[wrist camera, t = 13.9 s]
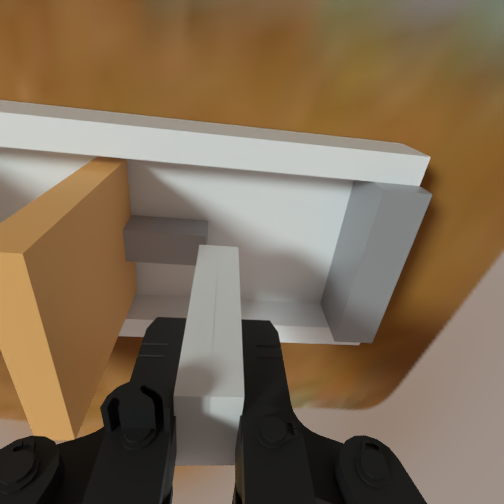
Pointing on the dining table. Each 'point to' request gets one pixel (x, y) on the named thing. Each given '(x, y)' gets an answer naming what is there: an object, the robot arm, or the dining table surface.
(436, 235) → the dining table surface
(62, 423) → the pusher
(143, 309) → the tray
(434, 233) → the dining table surface
